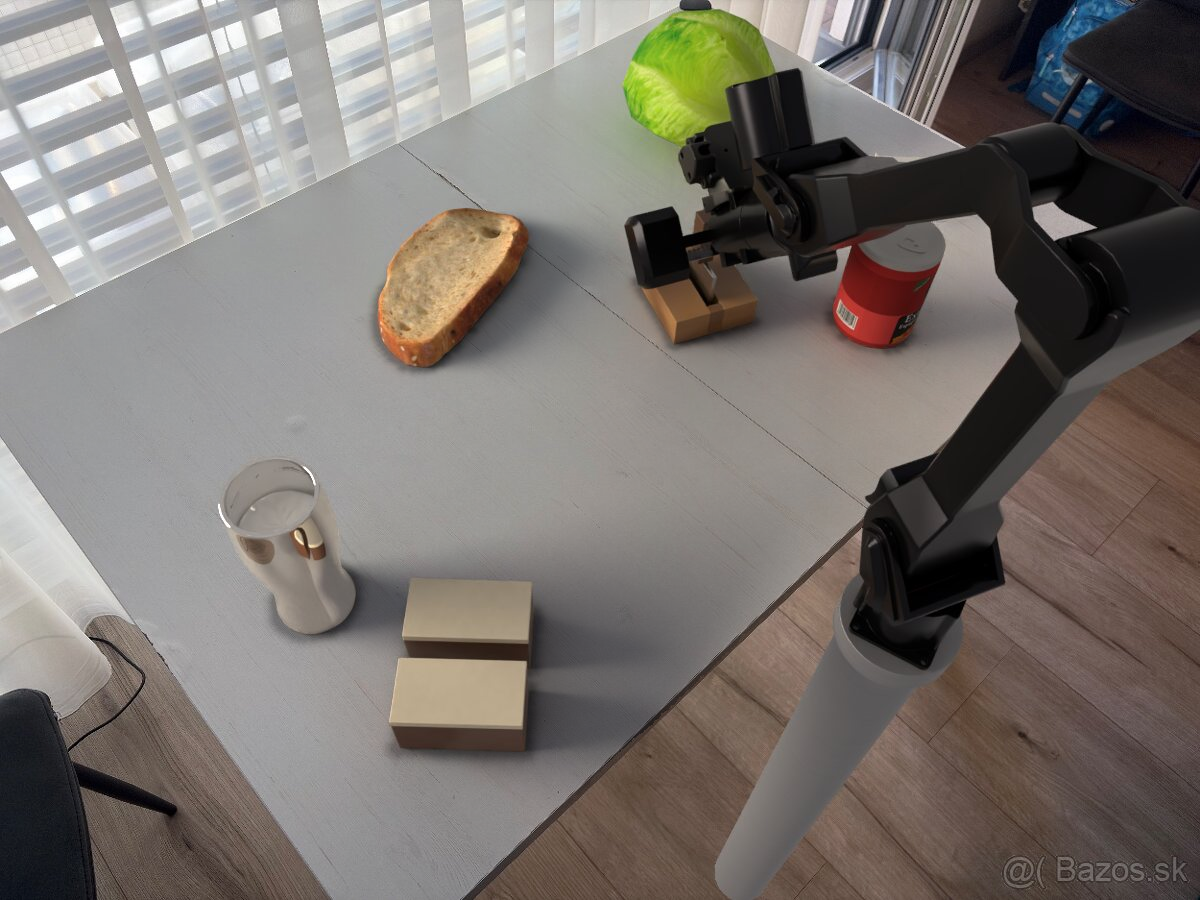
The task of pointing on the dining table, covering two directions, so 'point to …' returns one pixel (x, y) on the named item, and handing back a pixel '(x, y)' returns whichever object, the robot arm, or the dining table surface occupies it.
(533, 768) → the dining table surface
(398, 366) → the dining table surface
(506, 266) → the slice of bread
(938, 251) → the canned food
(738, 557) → the dining table surface
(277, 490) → the beer glass
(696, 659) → the dining table surface
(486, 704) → the beige twin blocks
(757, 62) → the lettuce
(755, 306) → the cardboard box
